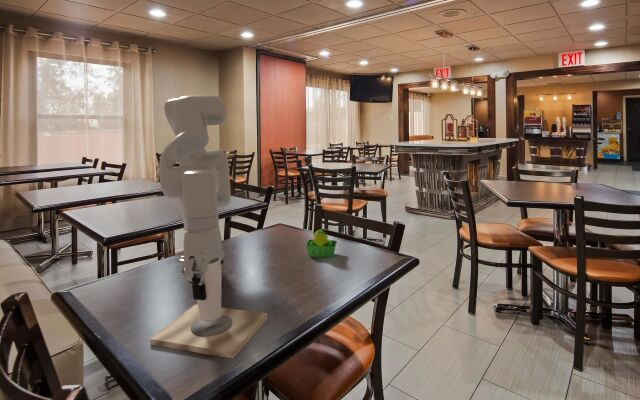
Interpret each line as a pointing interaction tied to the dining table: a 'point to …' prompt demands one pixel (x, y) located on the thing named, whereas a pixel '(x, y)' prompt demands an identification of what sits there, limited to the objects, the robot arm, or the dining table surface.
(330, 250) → the fruit basket
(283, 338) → the dining table surface
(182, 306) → the dining table surface
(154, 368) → the dining table surface
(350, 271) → the dining table surface
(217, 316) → the drinking glass
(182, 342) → the serving board
